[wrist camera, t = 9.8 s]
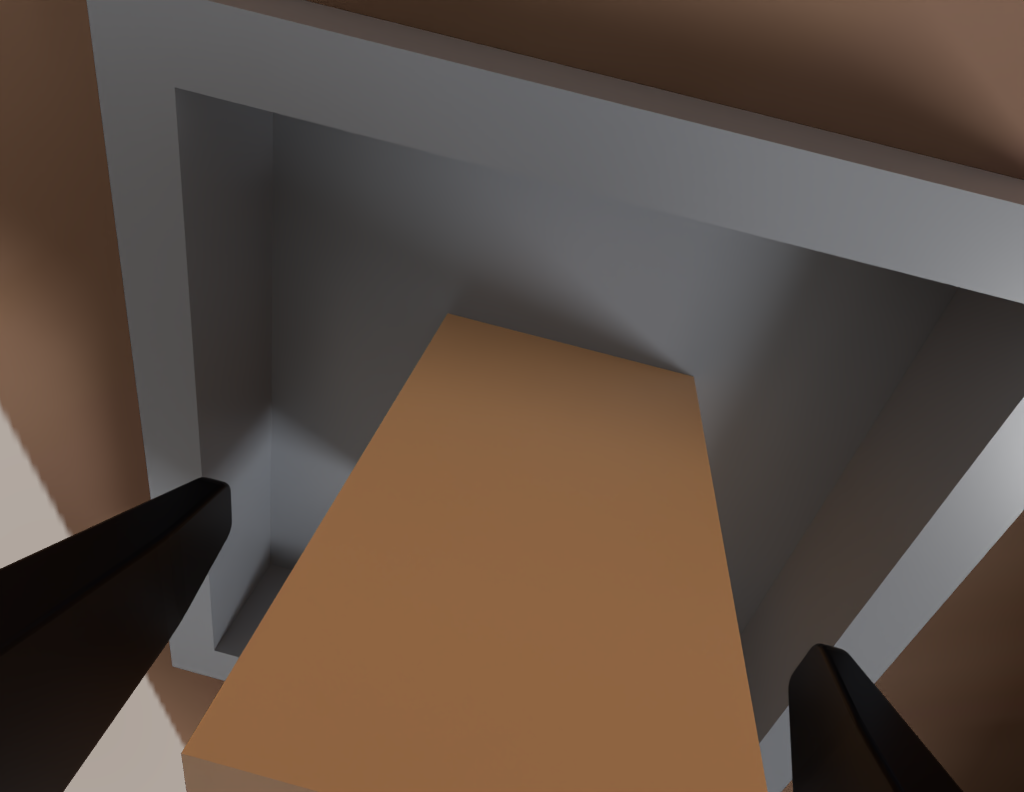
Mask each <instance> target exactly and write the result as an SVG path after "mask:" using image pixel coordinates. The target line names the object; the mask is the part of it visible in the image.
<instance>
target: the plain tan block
mask: <svg viewBox="0 0 1024 792" xmlns="http://www.w3.org/2000/svg"><path fill="white" fill-rule="evenodd" d="M181 755H182V762H183V769H184V776H185V784H186V790H187V792H768V791H767V785H766V779H765V774H764V768H763V763H762V757H761V751H760V746H759V740H758V735H757V729H756V723H755V718H754V712H753V706H752V701H751V695H750V690H749V684H748V678H747V673H746V667H745V661H744V656H743V650H742V645H741V639H740V633H739V628H738V622H737V616H736V611H735V605H734V600H733V594H732V588H731V583H730V577H729V572H728V566H727V560H726V555H725V549H724V543H723V538H722V532H721V527H720V521H719V515H718V510H717V504H716V498H715V493H714V487H713V482H712V476H711V470H710V465H709V459H708V454H707V448H706V442H705V437H704V431H703V425H702V420H701V414H700V409H699V403H698V397H697V392H696V386H695V380H694V377H693V376H689V375H685V374H681V373H678V372H674V371H670V370H666V369H662V368H658V367H654V366H650V365H647V364H643V363H639V362H635V361H631V360H627V359H623V358H619V357H615V356H612V355H608V354H604V353H600V352H596V351H592V350H588V349H584V348H581V347H577V346H573V345H569V344H565V343H561V342H557V341H553V340H549V339H546V338H542V337H538V336H534V335H530V334H526V333H522V332H518V331H515V330H511V329H507V328H503V327H499V326H495V325H491V324H487V323H483V322H480V321H476V320H472V319H468V318H464V317H460V316H456V315H452V314H449V313H448V314H447V315H446V317H445V319H444V320H443V322H442V323H441V325H440V327H439V328H438V330H437V332H436V333H435V335H434V337H433V338H432V340H431V342H430V343H429V345H428V347H427V348H426V350H425V352H424V353H423V355H422V357H421V358H420V360H419V361H418V363H417V365H416V366H415V368H414V370H413V371H412V373H411V375H410V376H409V378H408V380H407V381H406V383H405V385H404V386H403V388H402V390H401V391H400V393H399V395H398V396H397V398H396V399H395V401H394V403H393V404H392V406H391V408H390V409H389V411H388V413H387V414H386V416H385V418H384V419H383V421H382V423H381V424H380V426H379V428H378V429H377V431H376V432H375V434H374V436H373V437H372V439H371V441H370V442H369V444H368V446H367V447H366V449H365V451H364V452H363V454H362V456H361V457H360V459H359V461H358V462H357V464H356V466H355V467H354V469H353V470H352V472H351V474H350V475H349V477H348V479H347V480H346V482H345V484H344V485H343V487H342V489H341V490H340V492H339V494H338V495H337V497H336V499H335V500H334V502H333V504H332V505H331V507H330V508H329V510H328V512H327V513H326V515H325V517H324V518H323V520H322V522H321V523H320V525H319V527H318V528H317V530H316V532H315V533H314V535H313V537H312V538H311V540H310V542H309V543H308V545H307V546H306V548H305V550H304V551H303V553H302V555H301V556H300V558H299V560H298V561H297V563H296V565H295V566H294V568H293V570H292V571H291V573H290V575H289V576H288V578H287V580H286V581H285V583H284V584H283V586H282V588H281V589H280V591H279V593H278V594H277V596H276V598H275V599H274V601H273V603H272V604H271V606H270V608H269V609H268V611H267V613H266V614H265V616H264V618H263V619H262V621H261V622H260V624H259V626H258V627H257V629H256V631H255V632H254V634H253V636H252V637H251V639H250V641H249V642H248V644H247V646H246V647H245V649H244V651H243V652H242V654H241V656H240V657H239V659H238V660H237V662H236V664H235V665H234V667H233V669H232V670H231V672H230V674H229V675H228V677H227V679H226V680H225V682H224V684H223V685H222V687H221V689H220V690H219V692H218V694H217V695H216V697H215V698H214V700H213V702H212V703H211V705H210V707H209V708H208V710H207V712H206V713H205V715H204V717H203V718H202V720H201V722H200V723H199V725H198V727H197V728H196V730H195V732H194V733H193V735H192V736H191V738H190V740H189V741H188V743H187V745H186V746H185V748H184V750H183V751H182V753H181Z"/></svg>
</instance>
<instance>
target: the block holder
mask: <svg viewBox="0 0 1024 792" xmlns="http://www.w3.org/2000/svg"><path fill="white" fill-rule="evenodd" d="M87 8H88V15H89V23H90V31H91V39H92V46H93V54H94V62H95V70H96V77H97V85H98V93H99V101H100V108H101V116H102V124H103V132H104V139H105V147H106V155H107V163H108V170H109V178H110V186H111V194H112V201H113V209H114V217H115V225H116V232H117V240H118V248H119V256H120V263H121V271H122V279H123V287H124V294H125V302H126V310H127V318H128V325H129V333H130V341H131V349H132V356H133V364H134V372H135V380H136V387H137V395H138V403H139V411H140V418H141V426H142V434H143V442H144V449H145V457H146V465H147V473H148V480H149V488H150V496H151V499H153V498H155V497H158V496H160V495H162V494H164V493H166V492H168V491H171V490H173V489H175V488H177V487H179V486H182V485H184V484H186V483H188V482H190V481H192V480H195V479H197V478H200V477H208V478H212V479H216V480H219V481H223V482H226V483H228V484H229V486H230V488H231V502H232V527H231V531H230V533H229V536H228V538H227V540H226V542H225V543H224V545H223V547H222V549H221V551H220V553H219V554H218V556H217V558H216V560H215V562H214V563H213V565H212V567H211V569H210V571H209V573H208V574H207V576H206V578H205V580H204V582H203V583H202V585H201V587H200V589H199V591H198V593H197V594H196V596H195V598H194V600H193V602H192V604H191V605H190V607H189V609H188V611H187V613H186V614H185V616H184V618H183V619H182V621H181V623H180V625H179V626H178V628H177V629H176V631H175V632H174V634H173V635H172V637H171V638H170V640H169V643H170V651H171V659H172V666H173V667H177V668H180V669H184V670H187V671H191V672H195V673H198V674H202V675H205V676H209V677H212V678H216V679H220V680H223V681H225V680H226V679H227V677H228V675H229V674H230V672H231V670H232V669H233V667H234V665H235V664H236V662H237V660H238V659H239V657H240V656H241V654H242V652H243V651H244V649H245V647H246V646H247V644H248V642H249V641H250V639H251V637H252V636H253V634H254V632H255V631H256V629H257V627H258V626H259V624H260V622H261V621H262V619H263V618H264V616H265V614H266V613H267V611H268V609H269V608H270V606H271V604H272V603H273V601H274V599H275V598H276V596H277V594H278V593H279V591H280V589H281V588H282V586H283V584H284V583H285V581H286V580H287V578H288V576H289V575H290V573H291V571H292V570H293V568H294V566H295V565H296V563H297V561H298V560H299V558H300V556H301V555H302V553H303V551H304V550H305V548H306V546H307V545H308V543H309V542H310V540H311V538H312V537H313V535H314V533H315V532H316V530H317V528H318V527H319V525H320V523H321V522H322V520H323V518H324V517H325V515H326V513H327V512H328V510H329V508H330V507H331V505H332V504H333V502H334V500H335V499H336V497H337V495H338V494H339V492H340V490H341V489H342V487H343V485H344V484H345V482H346V480H347V479H348V477H349V475H350V474H351V472H352V470H353V469H354V467H355V466H356V464H357V462H358V461H359V459H360V457H361V456H362V454H363V452H364V451H365V449H366V447H367V446H368V444H369V442H370V441H371V439H372V437H373V436H374V434H375V432H376V431H377V429H378V428H379V426H380V424H381V423H382V421H383V419H384V418H385V416H386V414H387V413H388V411H389V409H390V408H391V406H392V404H393V403H394V401H395V399H396V398H397V396H398V395H399V393H400V391H401V390H402V388H403V386H404V385H405V383H406V381H407V380H408V378H409V376H410V375H411V373H412V371H413V370H414V368H415V366H416V365H417V363H418V361H419V360H420V358H421V357H422V355H423V353H424V352H425V350H426V348H427V347H428V345H429V343H430V342H431V340H432V338H433V337H434V335H435V333H436V332H437V330H438V328H439V327H440V325H441V323H442V322H443V320H444V319H445V317H446V315H447V314H448V313H449V314H452V315H456V316H460V317H464V318H468V319H472V320H476V321H480V322H483V323H487V324H491V325H495V326H499V327H503V328H507V329H511V330H515V331H518V332H522V333H526V334H530V335H534V336H538V337H542V338H546V339H549V340H553V341H557V342H561V343H565V344H569V345H573V346H577V347H581V348H584V349H588V350H592V351H596V352H600V353H604V354H608V355H612V356H615V357H619V358H623V359H627V360H631V361H635V362H639V363H643V364H647V365H650V366H654V367H658V368H662V369H666V370H670V371H674V372H678V373H681V374H685V375H689V376H693V377H694V380H695V386H696V392H697V397H698V403H699V409H700V414H701V420H702V425H703V431H704V437H705V442H706V448H707V454H708V459H709V465H710V470H711V476H712V482H713V487H714V493H715V498H716V504H717V510H718V515H719V521H720V527H721V532H722V538H723V543H724V549H725V555H726V560H727V566H728V572H729V577H730V583H731V588H732V594H733V600H734V605H735V611H736V616H737V622H738V628H739V633H740V639H741V645H742V650H743V656H744V661H745V667H746V673H747V678H748V684H749V690H750V695H751V701H752V706H753V712H754V718H755V723H756V729H757V735H758V740H759V746H760V751H761V757H762V763H763V768H764V774H765V779H766V785H767V791H768V792H782V790H783V789H784V788H785V787H786V786H787V785H788V783H789V782H790V781H791V780H792V763H791V742H790V722H789V701H788V685H789V680H790V677H791V675H792V673H793V672H794V670H795V669H796V667H797V666H798V665H799V663H800V662H801V661H802V659H803V658H804V657H805V655H806V654H807V652H808V651H809V650H810V648H811V647H812V646H813V645H815V644H817V643H822V644H826V645H829V646H833V647H837V648H841V649H843V650H845V651H846V652H848V653H849V654H850V655H851V656H852V658H853V659H854V660H855V661H856V663H857V664H858V665H859V666H860V667H861V669H862V670H863V671H864V672H865V673H866V675H867V676H868V677H869V678H870V680H871V681H872V682H873V683H875V682H876V681H877V680H878V679H879V678H880V676H881V675H882V674H883V673H884V672H885V671H886V669H887V668H888V667H889V666H890V665H891V664H892V662H893V661H894V660H895V659H896V658H897V657H898V655H899V654H900V653H901V652H902V651H903V650H904V649H905V647H906V646H907V645H908V644H909V643H910V642H911V640H912V639H913V638H914V637H915V636H916V635H917V633H918V632H919V631H920V630H921V629H922V628H923V626H924V625H925V624H926V623H927V622H928V621H929V619H930V618H931V617H932V616H933V615H934V614H935V612H936V611H937V610H938V609H939V608H940V607H941V605H942V604H943V603H944V602H945V601H946V600H947V599H948V597H949V596H950V595H951V594H952V593H953V592H954V590H955V589H956V588H957V587H958V586H959V585H960V583H961V582H962V581H963V580H964V579H965V578H966V576H967V575H968V574H969V573H970V572H971V571H972V569H973V568H974V567H975V566H976V565H977V564H978V562H979V561H980V560H981V559H982V558H983V557H984V556H985V554H986V553H987V552H988V551H989V550H990V549H991V547H992V546H993V545H994V544H995V543H996V542H997V540H998V539H999V538H1000V537H1001V536H1002V535H1003V533H1004V532H1005V531H1006V530H1007V529H1008V528H1009V526H1010V525H1011V524H1012V523H1013V522H1014V521H1015V519H1016V518H1017V517H1018V516H1019V515H1020V514H1021V512H1022V511H1023V510H1024V180H1021V179H1017V178H1013V177H1009V176H1005V175H1001V174H997V173H993V172H989V171H985V170H981V169H977V168H973V167H969V166H965V165H961V164H957V163H953V162H949V161H945V160H941V159H937V158H933V157H929V156H925V155H921V154H917V153H913V152H909V151H905V150H901V149H897V148H893V147H889V146H885V145H881V144H877V143H873V142H869V141H865V140H861V139H857V138H853V137H849V136H845V135H841V134H837V133H833V132H829V131H825V130H821V129H817V128H813V127H809V126H805V125H801V124H797V123H793V122H789V121H785V120H781V119H777V118H773V117H769V116H765V115H761V114H757V113H753V112H749V111H745V110H741V109H737V108H733V107H729V106H725V105H721V104H717V103H713V102H709V101H705V100H701V99H697V98H693V97H689V96H685V95H681V94H677V93H673V92H669V91H665V90H661V89H657V88H653V87H649V86H645V85H641V84H637V83H633V82H629V81H625V80H621V79H617V78H613V77H609V76H605V75H601V74H597V73H593V72H589V71H585V70H581V69H577V68H573V67H569V66H565V65H561V64H557V63H553V62H549V61H545V60H541V59H537V58H533V57H529V56H525V55H521V54H517V53H513V52H509V51H505V50H501V49H497V48H493V47H489V46H485V45H481V44H477V43H473V42H469V41H465V40H461V39H457V38H453V37H449V36H445V35H441V34H437V33H433V32H429V31H425V30H421V29H417V28H413V27H409V26H405V25H401V24H397V23H393V22H389V21H385V20H381V19H377V18H373V17H369V16H365V15H361V14H357V13H353V12H349V11H345V10H341V9H337V8H333V7H329V6H325V5H321V4H317V3H313V2H309V1H305V0H87Z"/></svg>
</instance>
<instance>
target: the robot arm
mask: <svg viewBox="0 0 1024 792" xmlns="http://www.w3.org/2000/svg"><path fill="white" fill-rule="evenodd" d="M231 527H232V502H231V488H230V486H229V484H228V483H226V482H223V481H219V480H216V479H212V478H208V477H200V478H197V479H195V480H192V481H190V482H188V483H186V484H184V485H182V486H179V487H177V488H175V489H173V490H171V491H168V492H166V493H164V494H162V495H160V496H158V497H155V498H153V499H151V500H149V501H147V502H145V503H142V504H140V505H138V506H136V507H134V508H131V509H129V510H127V511H125V512H123V513H121V514H118V515H116V516H114V517H112V518H110V519H108V520H105V521H103V522H101V523H99V524H97V525H95V526H92V527H90V528H88V529H86V530H84V531H81V532H79V533H77V534H75V535H73V536H71V537H68V538H66V539H64V540H62V541H60V542H58V543H55V544H53V545H51V546H49V547H47V548H44V549H42V550H40V551H38V552H36V553H34V554H32V555H29V556H27V557H25V558H23V559H21V560H18V561H16V562H14V563H12V564H10V565H8V566H6V567H3V568H1V569H0V792H64V790H65V789H66V787H67V786H68V784H69V783H70V781H71V780H72V779H73V777H74V776H75V774H76V773H77V771H78V770H79V769H80V767H81V766H82V764H83V763H84V761H85V760H86V759H87V757H88V756H89V754H90V753H91V751H92V750H93V749H94V747H95V746H96V744H97V743H98V741H99V740H100V739H101V737H102V736H103V734H104V733H105V731H106V730H107V729H108V727H109V726H110V724H111V723H112V721H113V720H114V718H115V717H116V715H117V714H118V713H119V711H120V710H121V708H122V707H123V706H124V704H125V703H126V701H127V700H128V698H129V697H130V696H131V694H132V693H133V691H134V690H135V688H136V687H137V686H138V684H139V683H140V681H141V680H142V678H143V677H144V676H145V674H146V673H147V671H148V670H149V668H150V667H151V666H152V664H153V663H154V661H155V660H156V658H157V657H158V656H159V654H160V653H161V651H162V650H163V648H164V647H165V645H166V644H167V643H168V641H169V640H170V638H171V637H172V635H173V634H174V632H175V631H176V629H177V628H178V626H179V625H180V623H181V621H182V619H183V618H184V616H185V614H186V613H187V611H188V609H189V607H190V605H191V604H192V602H193V600H194V598H195V596H196V594H197V593H198V591H199V589H200V587H201V585H202V583H203V582H204V580H205V578H206V576H207V574H208V573H209V571H210V569H211V567H212V565H213V563H214V562H215V560H216V558H217V556H218V554H219V553H220V551H221V549H222V547H223V545H224V543H225V542H226V540H227V538H228V536H229V533H230V531H231ZM788 701H789V722H790V742H791V763H792V782H793V792H963V791H962V790H961V789H960V787H959V786H958V785H957V784H956V783H955V781H954V780H953V779H952V778H951V776H950V775H949V774H948V773H947V772H946V770H945V769H944V768H943V767H942V766H941V764H940V763H939V762H938V761H937V759H936V758H935V757H934V756H933V755H932V753H931V752H930V751H929V750H928V749H927V747H926V746H925V745H924V744H923V743H922V741H921V740H920V739H919V738H918V736H917V735H916V734H915V733H914V732H913V730H912V729H911V728H910V727H909V726H908V724H907V723H906V722H905V721H904V720H903V718H902V717H901V716H900V715H899V713H898V712H897V711H896V710H895V709H894V707H893V706H892V705H891V704H890V703H889V701H888V700H887V699H886V698H885V696H884V695H883V694H882V693H881V692H880V690H879V689H878V688H877V687H876V686H875V684H874V683H873V682H872V681H871V680H870V678H869V677H868V676H867V675H866V673H865V672H864V671H863V670H862V669H861V667H860V666H859V665H858V664H857V663H856V661H855V660H854V659H853V658H852V656H851V655H850V654H849V653H848V652H846V651H845V650H843V649H841V648H837V647H833V646H829V645H826V644H822V643H817V644H815V645H813V646H812V647H811V648H810V650H809V651H808V652H807V654H806V655H805V657H804V658H803V659H802V661H801V662H800V663H799V665H798V666H797V667H796V669H795V670H794V672H793V673H792V675H791V677H790V680H789V685H788Z"/></svg>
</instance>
